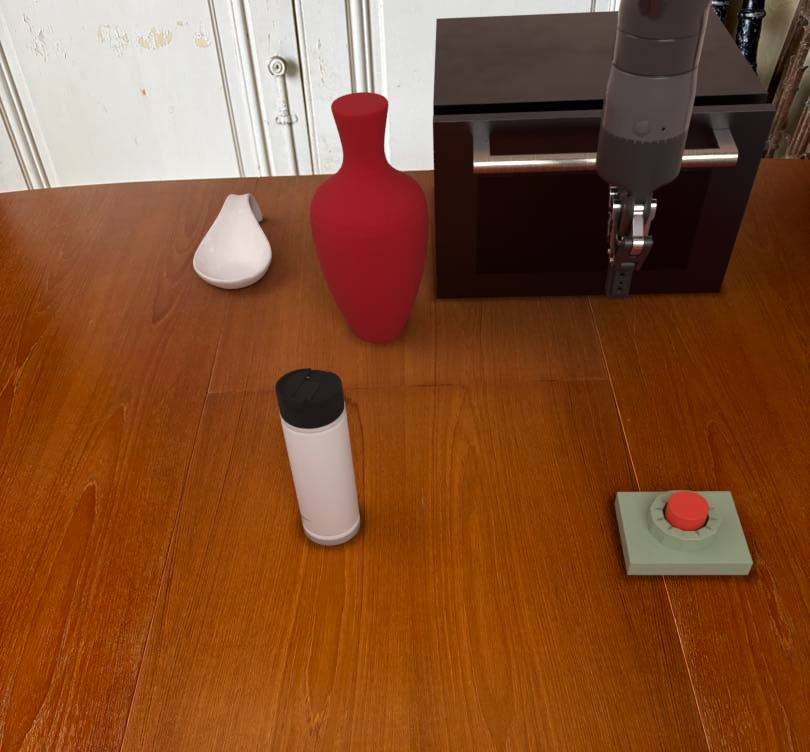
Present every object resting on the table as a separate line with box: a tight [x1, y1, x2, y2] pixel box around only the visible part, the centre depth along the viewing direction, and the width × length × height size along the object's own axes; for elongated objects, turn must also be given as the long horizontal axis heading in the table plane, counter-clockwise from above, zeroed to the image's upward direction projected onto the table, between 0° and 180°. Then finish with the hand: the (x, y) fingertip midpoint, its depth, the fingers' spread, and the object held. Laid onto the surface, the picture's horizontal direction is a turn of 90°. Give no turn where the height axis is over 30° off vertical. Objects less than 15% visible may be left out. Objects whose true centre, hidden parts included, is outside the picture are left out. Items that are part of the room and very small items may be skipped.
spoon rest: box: [192, 192, 273, 290], centre depth 125 cm, size 24×12×7 cm, turn 2°
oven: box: [432, 6, 769, 116], centre depth 118 cm, size 32×40×26 cm
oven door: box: [432, 103, 777, 300], centre depth 105 cm, size 7×40×26 cm, turn 88°
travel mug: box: [274, 367, 361, 547], centre depth 82 cm, size 6×7×20 cm
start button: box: [665, 490, 709, 531], centre depth 82 cm, size 4×4×2 cm
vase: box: [309, 91, 430, 344], centre depth 102 cm, size 15×15×30 cm
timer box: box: [614, 489, 754, 576], centre depth 84 cm, size 12×10×4 cm
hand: (616, 294), depth 84 cm, fingers closed
